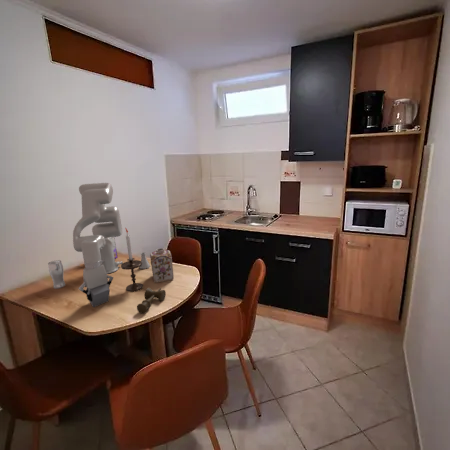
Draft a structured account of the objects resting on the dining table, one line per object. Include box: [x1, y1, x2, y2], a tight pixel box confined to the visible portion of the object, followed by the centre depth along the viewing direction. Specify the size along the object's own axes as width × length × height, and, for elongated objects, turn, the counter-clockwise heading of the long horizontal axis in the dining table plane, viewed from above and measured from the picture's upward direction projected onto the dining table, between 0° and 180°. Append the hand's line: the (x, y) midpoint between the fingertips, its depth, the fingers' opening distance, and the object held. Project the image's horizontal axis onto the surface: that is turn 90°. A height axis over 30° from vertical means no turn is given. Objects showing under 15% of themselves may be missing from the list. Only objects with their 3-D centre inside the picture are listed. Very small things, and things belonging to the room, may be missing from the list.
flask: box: [138, 252, 151, 270], centre depth 182 cm, size 7×7×10 cm
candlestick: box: [120, 227, 144, 293], centre depth 149 cm, size 11×11×35 cm
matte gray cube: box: [89, 284, 111, 308], centre depth 137 cm, size 8×8×9 cm
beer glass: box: [47, 259, 66, 290], centre depth 158 cm, size 7×7×15 cm
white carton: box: [108, 237, 119, 260], centre depth 197 cm, size 14×6×16 cm, turn 145°
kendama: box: [136, 287, 167, 314], centre depth 136 cm, size 6×10×20 cm
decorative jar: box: [149, 247, 175, 284], centre depth 163 cm, size 12×12×18 cm
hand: (99, 297), depth 137 cm, fingers closed on matte gray cube, 7 cm apart
